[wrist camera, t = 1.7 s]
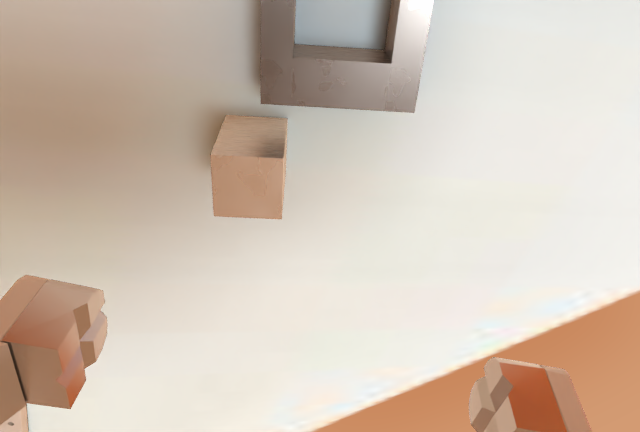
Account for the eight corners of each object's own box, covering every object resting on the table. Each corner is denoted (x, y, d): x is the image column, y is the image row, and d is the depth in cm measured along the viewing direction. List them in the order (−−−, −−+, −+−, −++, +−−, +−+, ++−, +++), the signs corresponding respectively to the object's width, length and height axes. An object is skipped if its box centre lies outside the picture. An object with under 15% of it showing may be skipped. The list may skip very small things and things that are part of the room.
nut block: (285, 172, 35) (281, 219, 30) (228, 169, 35) (213, 216, 30) (287, 118, 33) (283, 158, 28) (226, 114, 32) (210, 154, 27)
